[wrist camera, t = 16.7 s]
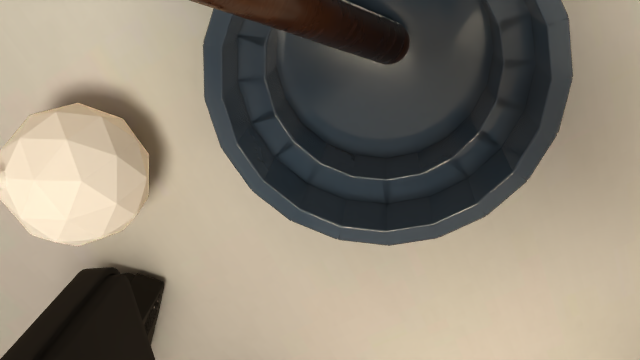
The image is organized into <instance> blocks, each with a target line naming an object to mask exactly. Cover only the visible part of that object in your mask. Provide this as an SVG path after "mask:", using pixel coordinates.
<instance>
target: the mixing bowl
mask: <svg viewBox="0 0 640 360" xmlns="http://www.w3.org/2000/svg"><path fill="white" fill-rule="evenodd" d="M346 1H349V2H351V3H353V4H356V5H358V6H360V7H363V8H365V9H368V10H370V11H372V12H375V13H377V14H379V15H382V16H384V17H386V18H389V19H391V20H393V21H396V22H398V23H399V24H401V25H402V26H403V27H404V28H405V29H406V30H407V32H408V35H409V38H410V45H409V49H408V52H407V54H406V55H405V56H404V58H403V59H402V60H400V61H399V62H397V63H394V64H389V65H386V64H381V63H378V62H375V61H372V60H369V59H366V58H363V57H360V56H357V55H354V54H351V53H347V52H344V51H341V50H338V49H335V48H332V47H329V46H326V45H323V44H320V43H317V42H314V41H311V40H308V39H305V38H302V37H299V36H296V35H293V34H290V33H287V32H284V31H281V30H278V29H275V28H272V27H269V26H266V25H263V24H260V23H257V22H254V21H251V20H248V19H245V18H242V17H239V16H236V15H233V14H230V13H227V12H224V11H221V10H218V9H215V8H214V9H213V12H212V15H211V19H210V22H209V25H208V29H207V32H206V35H205V39H204V44H203V61H204V98H205V102H206V105H207V108H208V111H209V114H210V117H211V120H212V123H213V126H214V128H215V131H216V134H217V137H218V140H219V143H220V146H221V148H222V149H223V151H224V153H225V154H226V155H227V157H228V158H229V159H230V161H231V162H232V164H233V165H234V166H235V168H236V169H237V171H238V172H239V173H240V175H241V176H242V178H243V179H244V180H245V182H246V183H247V184H248V186H249V187H250V189H252V191H253V192H254V193H256V194H257V195H258V196H259V197H261V198H262V199H263V200H265V201H266V202H267V203H268V204H270V205H271V206H272V207H274V208H275V209H276V210H277V211H279V212H280V213H281V214H283V215H284V216H285V217H286V218H288V219H289V220H290V221H291V220H292V221H293V222H295V223H298V224H300V225H303V226H305V227H308V228H310V229H313V230H315V231H318V232H320V233H322V234H325V235H327V236H330V237H332V238H335V239H338V240H344V241H353V242H362V243H370V244H379V245H387V244H388V246H390V245H396V244H403V243H409V242H416V241H422V240H429V239H435V238H438V237H441V236H443V235H446V234H448V233H450V232H452V231H455V230H457V229H459V228H461V227H463V226H466V225H468V224H470V223H472V222H474V221H477V220H479V219H481V218H483V217H485V216H486V215H488V214H489V213H490V212H492V211H493V210H494V209H495V208H496V207H497V206H499V205H500V204H501V203H502V202H503V201H504V200H506V199H507V198H508V197H509V196H510V195H512V194H513V193H514V192H515V191H516V190H517V189H519V188H520V187H521V186H522V185H523V184H524V183H526V182H527V180H528V179H529V178H530V176H531V174H532V173H533V171H534V170H535V168H536V167H537V165H538V164H539V162H540V160H541V159H542V157H543V156H544V154H545V153H546V151H547V150H548V148H549V146H550V145H551V143H552V142H553V140H554V139H555V137H556V136H557V133H558V132H559V128H560V125H561V121H562V117H563V113H564V109H565V106H566V102H567V98H568V94H569V91H570V87H571V83H572V77H573V69H572V55H571V41H570V27H569V18H568V14H567V12H566V10H565V8H564V5H563V3H562V1H561V0H346Z"/></svg>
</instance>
